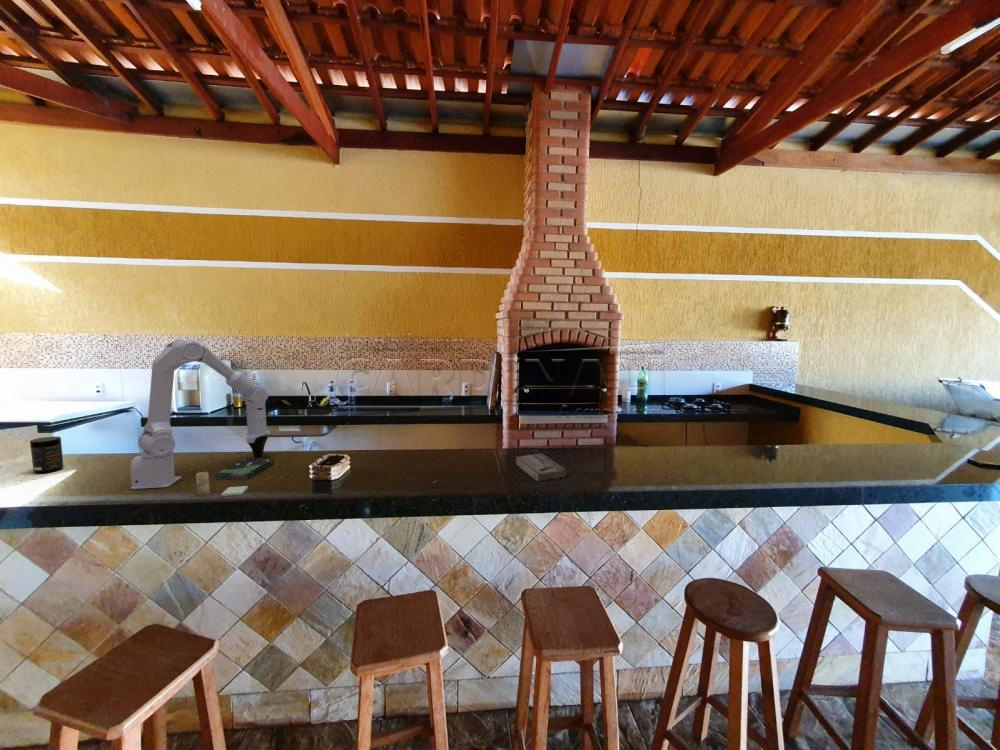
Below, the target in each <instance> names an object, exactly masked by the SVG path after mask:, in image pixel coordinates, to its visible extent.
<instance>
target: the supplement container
mask: <svg viewBox="0 0 1000 750" xmlns="http://www.w3.org/2000/svg"><path fill="white" fill-rule="evenodd" d="M29 447H30V452H31V462H32V471H33V473H34V474H36V475H37V474H38V475H42V474H51V473H56V472H58V471H61V470H62V469H64V467H65V466H64V457H63V448H62V447H63V445H62V437H61V436H46V437H38V438H33V439H31V440H29Z"/></svg>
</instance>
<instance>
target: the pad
mask: <svg viewBox="0 0 1000 750" xmlns="http://www.w3.org/2000/svg"><path fill="white" fill-rule="evenodd" d="M248 489H249V486H248V485H242V486H230V487H229V486H228V487H227V488H226V489H225V490H224V491H223V492H222V493H221V497H226V496H240V495H243V494H244V493H245V492H246V491H247V490H248Z"/></svg>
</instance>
